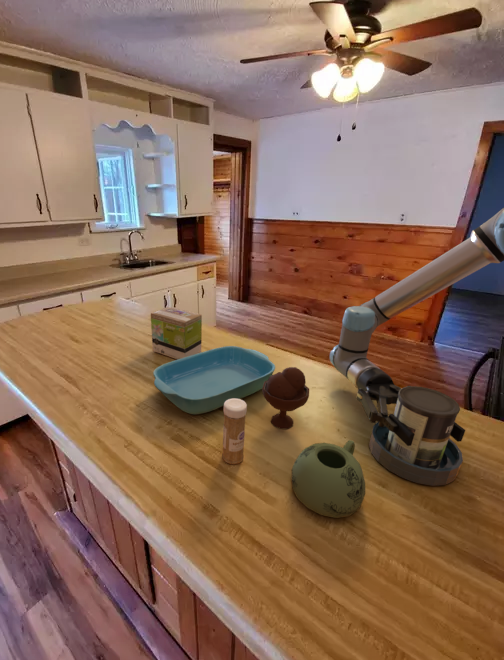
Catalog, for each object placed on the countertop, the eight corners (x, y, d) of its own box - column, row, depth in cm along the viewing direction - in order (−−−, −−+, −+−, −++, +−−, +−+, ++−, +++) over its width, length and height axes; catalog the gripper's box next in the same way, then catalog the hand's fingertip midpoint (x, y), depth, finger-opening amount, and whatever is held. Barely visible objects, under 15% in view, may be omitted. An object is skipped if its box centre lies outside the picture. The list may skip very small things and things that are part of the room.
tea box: (151, 352, 119) (149, 312, 114) (169, 342, 127) (168, 305, 121) (185, 363, 111) (184, 321, 106) (202, 352, 119) (202, 313, 113)
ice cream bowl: (288, 405, 89) (294, 354, 83) (314, 431, 79) (322, 375, 74) (252, 412, 86) (256, 360, 80) (274, 440, 76) (280, 383, 71)
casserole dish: (236, 358, 115) (237, 339, 112) (287, 385, 99) (290, 363, 96) (139, 392, 94) (137, 370, 92) (183, 434, 78) (183, 408, 75)
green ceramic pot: (341, 539, 54) (350, 499, 51) (275, 491, 63) (279, 454, 60) (380, 486, 64) (390, 450, 61) (319, 451, 73) (325, 418, 70)
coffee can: (439, 450, 73) (459, 395, 68) (439, 481, 65) (461, 421, 60) (387, 433, 78) (401, 380, 73) (381, 460, 70) (396, 403, 65)
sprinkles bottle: (238, 468, 68) (241, 413, 63) (218, 460, 70) (219, 406, 65) (246, 454, 72) (250, 401, 67) (227, 447, 74) (229, 395, 69)
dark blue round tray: (437, 438, 77) (442, 424, 76) (472, 494, 63) (479, 477, 61) (362, 427, 81) (365, 414, 79) (378, 478, 66) (383, 462, 65)
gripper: (407, 390, 88) (482, 448, 67) (325, 395, 85) (377, 458, 65) (414, 364, 85) (495, 417, 64) (330, 369, 82) (386, 426, 62)
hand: (436, 438), depth 65 cm, fingers closed on coffee can, 10 cm apart
